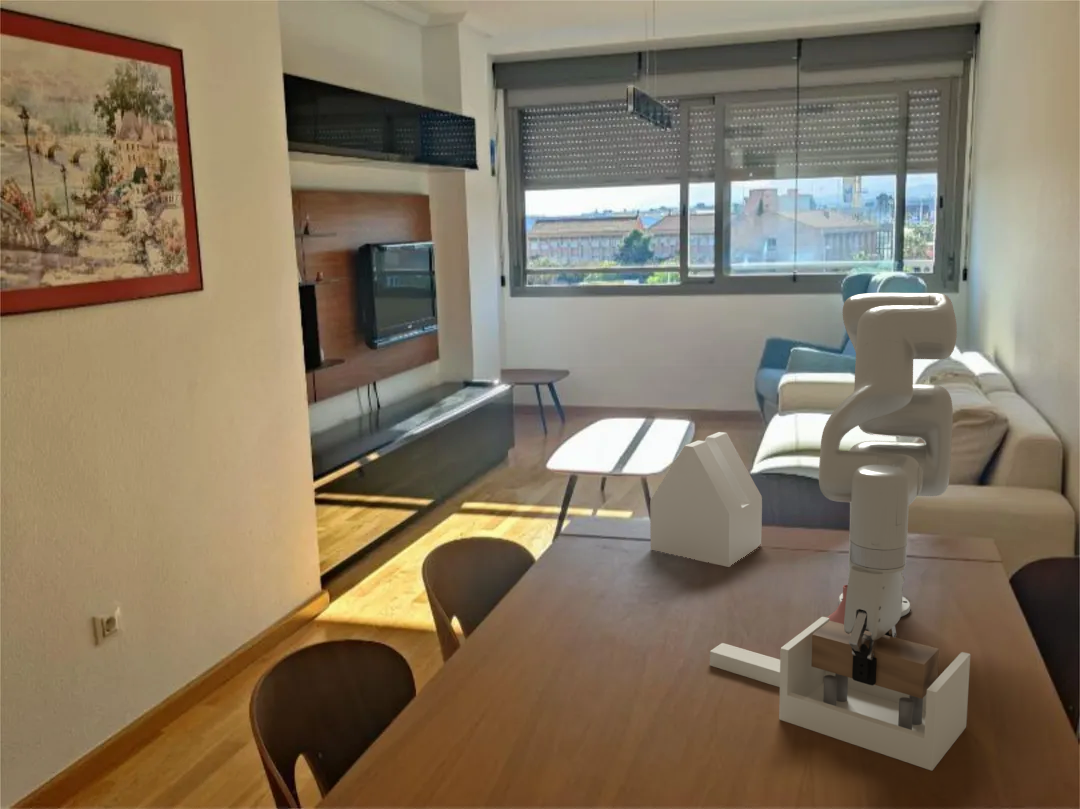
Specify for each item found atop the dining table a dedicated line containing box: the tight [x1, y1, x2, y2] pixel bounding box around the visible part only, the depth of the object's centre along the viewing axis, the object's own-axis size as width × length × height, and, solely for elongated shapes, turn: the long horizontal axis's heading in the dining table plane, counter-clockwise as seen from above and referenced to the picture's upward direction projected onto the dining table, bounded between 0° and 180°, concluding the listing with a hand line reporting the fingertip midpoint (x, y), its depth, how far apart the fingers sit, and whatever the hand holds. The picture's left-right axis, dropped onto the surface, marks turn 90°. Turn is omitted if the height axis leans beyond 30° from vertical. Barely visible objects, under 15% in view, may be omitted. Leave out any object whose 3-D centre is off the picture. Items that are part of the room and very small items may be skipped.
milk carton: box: [649, 431, 763, 568], centre depth 213 cm, size 19×15×25 cm
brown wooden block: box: [812, 621, 940, 699], centre depth 139 cm, size 6×16×5 cm, turn 50°
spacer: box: [709, 642, 780, 688], centre depth 157 cm, size 4×14×2 cm, turn 50°
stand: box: [778, 616, 971, 771], centre depth 139 cm, size 14×22×11 cm, turn 50°
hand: (873, 672), depth 139 cm, fingers closed on brown wooden block, 6 cm apart
